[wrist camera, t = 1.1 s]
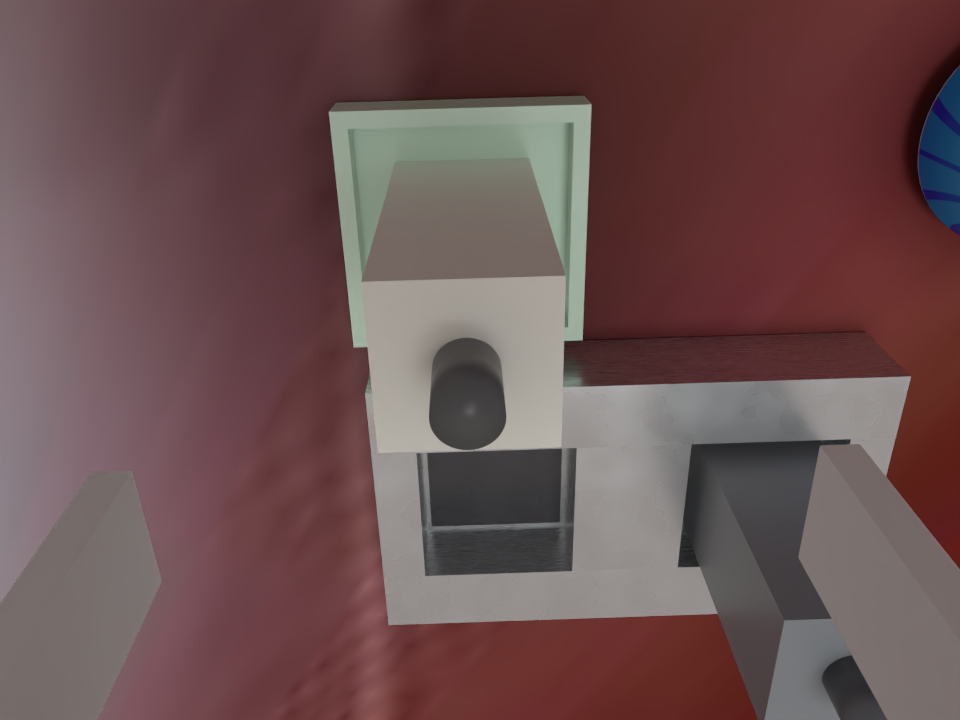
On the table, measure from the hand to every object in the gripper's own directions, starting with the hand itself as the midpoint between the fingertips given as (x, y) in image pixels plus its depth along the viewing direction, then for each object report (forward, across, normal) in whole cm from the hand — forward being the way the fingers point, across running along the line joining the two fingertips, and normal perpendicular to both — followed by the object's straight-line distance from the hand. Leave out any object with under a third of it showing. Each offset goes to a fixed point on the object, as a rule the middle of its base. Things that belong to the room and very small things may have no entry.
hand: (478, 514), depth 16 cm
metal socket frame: (+18, +6, -11) cm, 23 cm away
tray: (+18, 0, 0) cm, 19 cm away
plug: (+18, 0, 0) cm, 18 cm away
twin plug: (+18, +12, -11) cm, 24 cm away
